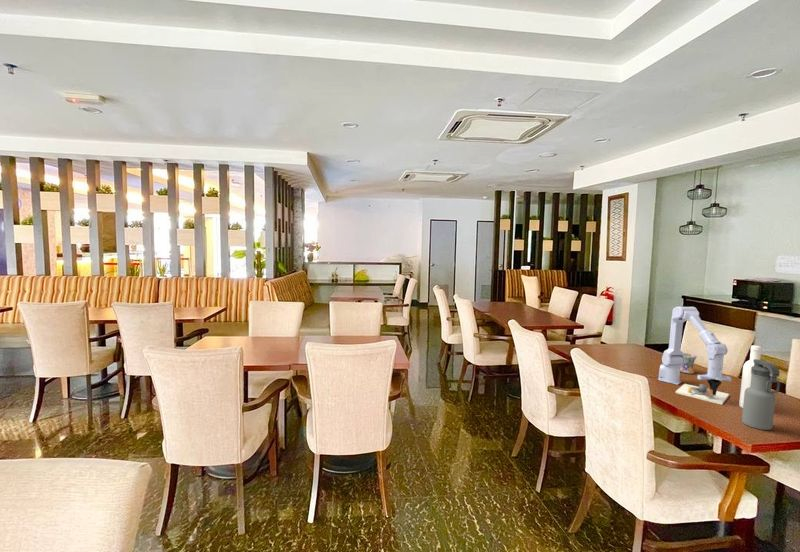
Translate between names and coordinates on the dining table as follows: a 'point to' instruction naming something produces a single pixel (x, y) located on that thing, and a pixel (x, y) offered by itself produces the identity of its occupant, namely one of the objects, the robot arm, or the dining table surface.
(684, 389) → the base board
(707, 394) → the grey metal bracket
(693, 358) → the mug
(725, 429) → the dining table surface
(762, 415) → the water bottle
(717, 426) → the dining table surface
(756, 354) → the bottle
